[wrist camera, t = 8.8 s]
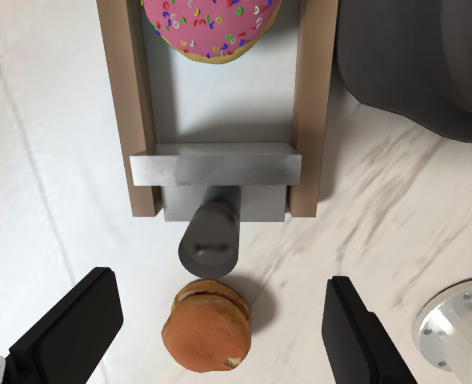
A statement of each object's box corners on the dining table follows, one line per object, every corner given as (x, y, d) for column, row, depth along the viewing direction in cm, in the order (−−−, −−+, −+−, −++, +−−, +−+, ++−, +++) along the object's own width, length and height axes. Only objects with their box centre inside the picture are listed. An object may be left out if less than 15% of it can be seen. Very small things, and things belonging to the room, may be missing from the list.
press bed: (341, -148, 15) (407, -326, 9) (308, 206, 23) (331, 242, 17) (92, -134, 16) (-7, -290, 10) (143, 206, 24) (107, 240, 17)
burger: (181, 268, 26) (168, 301, 22) (262, 290, 27) (266, 327, 22) (163, 332, 29) (149, 372, 25) (236, 351, 30) (235, 393, 25)
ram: (286, 142, 21) (321, 171, 11) (282, 216, 23) (309, 293, 13) (160, 143, 21) (89, 172, 11) (169, 215, 23) (115, 290, 14)
